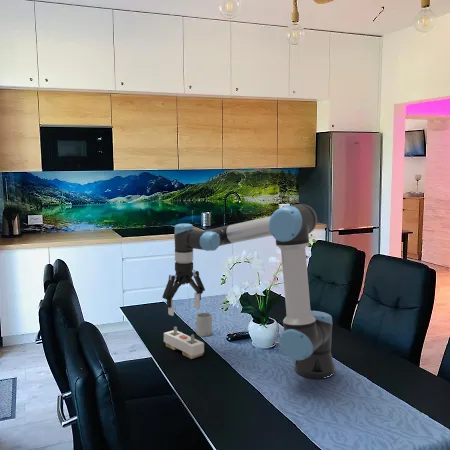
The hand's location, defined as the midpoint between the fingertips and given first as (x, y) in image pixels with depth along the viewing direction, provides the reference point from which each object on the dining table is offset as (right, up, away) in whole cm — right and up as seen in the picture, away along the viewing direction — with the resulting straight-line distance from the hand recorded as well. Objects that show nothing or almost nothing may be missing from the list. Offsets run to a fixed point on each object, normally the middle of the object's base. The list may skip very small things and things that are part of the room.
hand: (184, 311), depth 204 cm
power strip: (-1, -15, +2) cm, 16 cm away
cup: (+7, -14, +24) cm, 28 cm away
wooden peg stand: (0, -17, +2) cm, 17 cm away
